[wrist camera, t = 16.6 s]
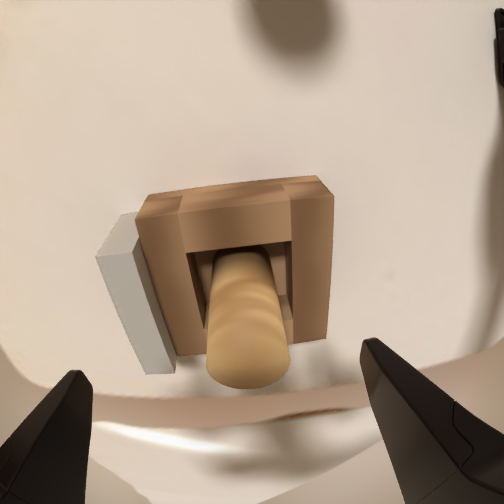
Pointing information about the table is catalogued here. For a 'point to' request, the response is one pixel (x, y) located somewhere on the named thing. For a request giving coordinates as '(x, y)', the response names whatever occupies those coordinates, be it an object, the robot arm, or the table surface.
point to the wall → (136, 297)
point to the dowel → (245, 320)
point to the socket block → (236, 235)
